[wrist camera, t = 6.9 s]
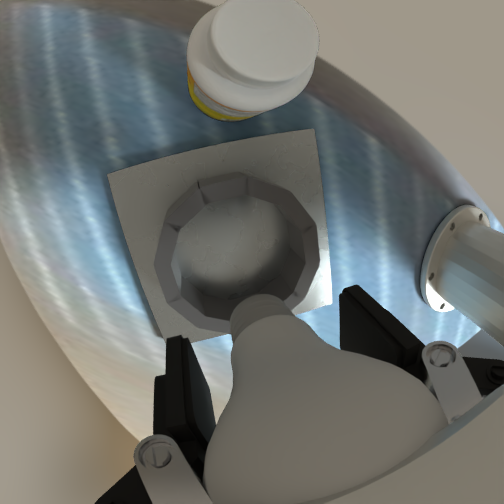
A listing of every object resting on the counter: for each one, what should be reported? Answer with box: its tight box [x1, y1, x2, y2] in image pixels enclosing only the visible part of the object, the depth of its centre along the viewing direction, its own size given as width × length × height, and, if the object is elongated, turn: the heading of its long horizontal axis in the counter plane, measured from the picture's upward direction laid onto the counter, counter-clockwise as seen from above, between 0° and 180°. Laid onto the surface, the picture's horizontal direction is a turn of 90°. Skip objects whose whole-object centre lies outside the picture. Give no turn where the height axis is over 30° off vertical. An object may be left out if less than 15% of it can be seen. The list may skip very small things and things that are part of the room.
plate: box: [107, 129, 332, 343], centre depth 21 cm, size 14×14×1 cm
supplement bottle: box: [187, 0, 320, 122], centre depth 13 cm, size 6×6×10 cm
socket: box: [153, 172, 320, 334], centre depth 19 cm, size 10×10×3 cm
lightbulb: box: [203, 294, 449, 504], centre depth 8 cm, size 6×6×11 cm
